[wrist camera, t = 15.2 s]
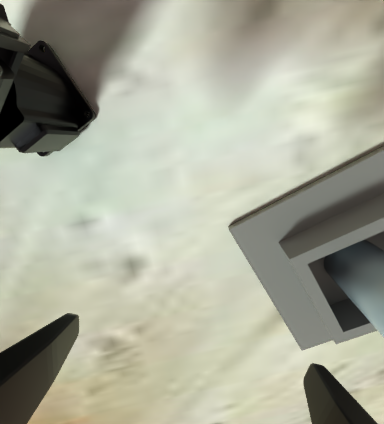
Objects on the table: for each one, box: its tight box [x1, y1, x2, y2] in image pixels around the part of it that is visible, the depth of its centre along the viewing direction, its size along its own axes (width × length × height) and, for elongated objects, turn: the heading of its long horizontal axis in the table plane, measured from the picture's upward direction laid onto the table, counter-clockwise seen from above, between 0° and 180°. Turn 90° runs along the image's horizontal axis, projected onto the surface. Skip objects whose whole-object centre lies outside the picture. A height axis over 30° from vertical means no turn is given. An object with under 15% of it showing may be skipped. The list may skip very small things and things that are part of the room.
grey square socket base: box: [229, 146, 384, 350], centre depth 19 cm, size 16×16×4 cm
